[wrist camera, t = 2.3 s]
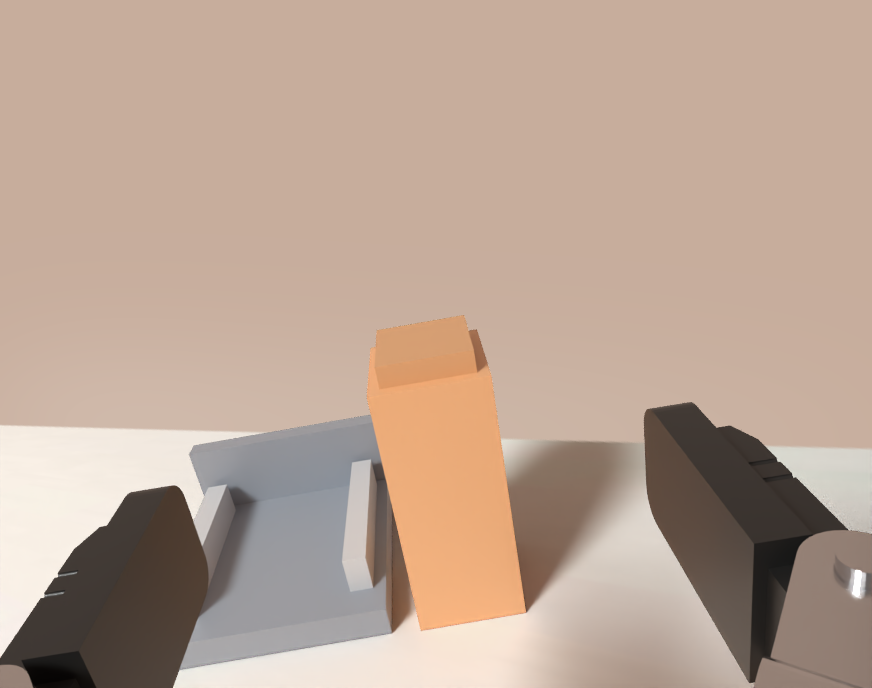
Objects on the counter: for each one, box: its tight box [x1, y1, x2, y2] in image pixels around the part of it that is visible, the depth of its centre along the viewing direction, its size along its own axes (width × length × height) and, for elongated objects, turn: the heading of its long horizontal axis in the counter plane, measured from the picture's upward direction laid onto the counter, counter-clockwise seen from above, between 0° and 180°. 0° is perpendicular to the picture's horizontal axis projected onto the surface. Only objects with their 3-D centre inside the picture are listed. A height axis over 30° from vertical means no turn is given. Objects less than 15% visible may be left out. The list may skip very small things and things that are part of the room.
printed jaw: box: [367, 315, 526, 631], centre depth 25 cm, size 4×4×11 cm
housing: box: [180, 415, 392, 669], centre depth 29 cm, size 9×9×4 cm
